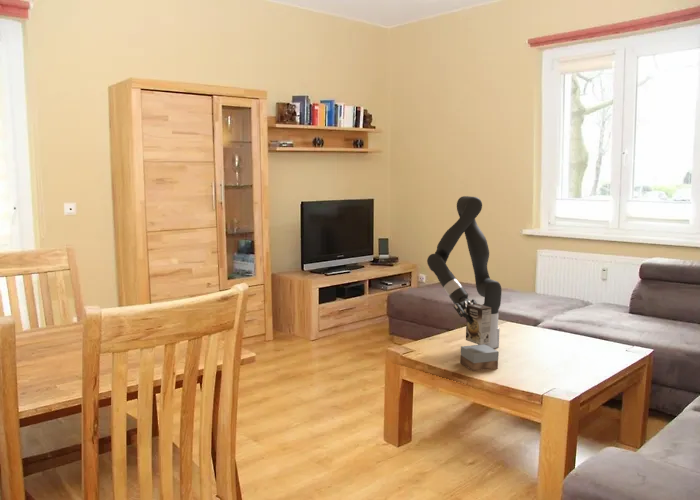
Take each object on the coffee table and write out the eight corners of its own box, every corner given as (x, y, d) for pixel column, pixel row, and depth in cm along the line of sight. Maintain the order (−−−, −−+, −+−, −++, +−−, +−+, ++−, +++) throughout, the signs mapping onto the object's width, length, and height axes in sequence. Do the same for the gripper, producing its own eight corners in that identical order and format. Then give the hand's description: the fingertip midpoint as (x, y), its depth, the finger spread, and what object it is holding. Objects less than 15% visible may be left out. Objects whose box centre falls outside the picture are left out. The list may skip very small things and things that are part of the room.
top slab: (484, 352, 281) (484, 344, 280) (498, 360, 270) (498, 351, 269) (460, 355, 277) (460, 346, 277) (473, 363, 266) (473, 354, 266)
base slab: (484, 361, 281) (484, 352, 281) (497, 369, 270) (498, 360, 269) (460, 363, 278) (460, 355, 277) (472, 372, 267) (473, 363, 266)
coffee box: (464, 340, 274) (466, 304, 272) (475, 338, 278) (476, 302, 275) (480, 345, 267) (481, 308, 264) (490, 342, 270) (491, 306, 268)
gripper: (451, 288, 271) (473, 319, 264) (469, 284, 281) (491, 314, 275) (441, 298, 275) (462, 329, 269) (459, 294, 285) (480, 323, 279)
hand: (477, 321), depth 272 cm, fingers closed on coffee box, 7 cm apart
